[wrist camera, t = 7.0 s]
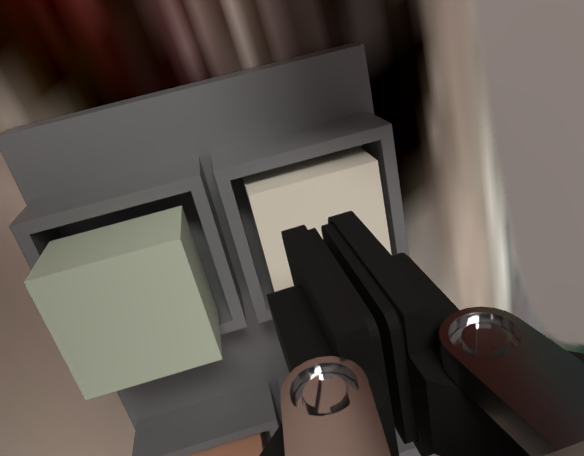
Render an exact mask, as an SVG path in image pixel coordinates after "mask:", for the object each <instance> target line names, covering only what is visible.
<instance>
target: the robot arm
mask: <svg viewBox="0 0 584 456" xmlns="http://www.w3.org/2000/svg"><path fill="white" fill-rule="evenodd" d="M321 231H322V236H323V239H322V237H321V236H320V234H319V233H318V231H317V230H316V228H312V229H309V230H308V229H307V228H306V226H305V225H301V226H297V227H294V228H291V229H287V230H284V231H281V235H282V239H283V244H284V248H285V252H286V256H287V260H288V264H289V268H290V272H291V276H292V280H293V284H294V286H292V287H289V288H286V289H282V290H279V291H276V292H273V293H270V294H266V296H267V300H268V304H269V308H270V311H271V315H272V318H273V322H274V325H275V329H276V332H277V335H278V339H279V342H280V345H281V348H282V352H283V355H284V358H285V361H286V364H287V367H288V370H289V373H290V374H289V375H288V376H287V377H286V379H285V381H284V383H283V385H282V387H281V395H280V400H281V412H282V423H281V424H280V426H279V427H278V429H277V430H276V432H275V433H274V435H273V436H272V438H271V439H270V440H269V442H268V443H267V445H266V446H265V448H264V449H263V451H262V452H261V454H260V455H259V456H399V451H398V444H397V438H396V431H395V428H396V430H397V432H398V434H399V436H400V438H401V440H402V441H403V443H404V444H408V443H411V442H413V443H414V444H415V446H416V448H417V450H418V452H419V453H420V455H421V456H430V455H432V454H437V455H440V456H584V354H582V353H577V352H571V351H567V350H565V349H564V348H562V347H561V346H559V345H558V344H556V343H555V342H553V341H552V340H551V339H549V338H548V337H546V336H545V335H543V334H542V333H540V332H539V331H537V330H536V329H534V328H533V327H531V326H530V325H529V324H527V323H526V322H524V321H523V320H521V319H520V318H518V317H517V316H515V315H513V314H511V313H509V312H507V311H503V310H500V309H496V308H490V307H473V308H466V309H463V310H459V309H458V308H457V307H456V306H455V305H454V304H453V303H452V302H451V301H450V300H449V299H448V298H447V296H446V295H445V294H444V293H443V292H442V291H441V290H440V289H439V288H438V287H437V286H436V285H435V284H434V283H433V282H432V281H431V280H430V279H429V277H428V276H427V275H426V274H425V273H424V272H423V271H422V270H421V269H420V268H419V267H418V266H417V265H416V264H415V263H414V262H413V261H412V260H411V258H410V257H409V256H408V255H406V254H405V253H398V254H395V255H391V254H390V253H389V252H388V251H387V250H386V248H385V247H384V246H383V245H382V244H381V243H380V242H379V240H378V239H377V238H376V237H375V236H374V235H373V234H372V233H371V231H370V230H369V229H368V228H367V227H366V226H365V225H364V224H363V222H362V221H361V220H360V219H359V218H358V217H357V216H356V215H355V213H354V212H353V211H348V212H344V213H341V214H338V215H334V216H331V217H328V224H326V225H322V226H321Z"/></svg>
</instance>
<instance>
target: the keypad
mask: <svg viewBox="0 0 584 456" xmlns="http://www.w3.org/2000/svg"><path fill="white" fill-rule="evenodd" d="M356 146H359V147H360V148H362V149H363V150H364V151H366V152H367V153H368V154H370V155H371V156H372V157H374V158H375V159H376V160H378V166H379V173H380V180H381V186H382V193H383V200H384V207H385V213H386V220H387V227H388V234H389V240H390V247H391V254H392V255H395V254H398V253H405V254H406V255H408V256H409V252H408V244H407V236H406V229H405V221H404V214H403V206H402V198H401V191H400V183H399V176H398V168H397V161H396V153H395V145H394V138H393V130H392V124H391V123H389V122H387V121H385V120H383V119H381V118H380V117H378V116H376V115H374V109H373V102H372V95H371V88H370V82H369V75H368V68H367V61H366V54H365V47H364V44H360V43H350V44H346V45H342V46H338V47H334V48H330V49H326V50H322V51H318V52H314V53H310V54H306V55H302V56H298V57H294V58H290V59H286V60H282V61H278V62H274V63H270V64H266V65H262V66H258V67H254V68H250V69H246V70H242V71H238V72H234V73H230V74H226V75H222V76H218V77H214V78H210V79H206V80H202V81H198V82H194V83H190V84H186V85H182V86H178V87H174V88H170V89H166V90H162V91H158V92H154V93H151V94H147V95H143V96H139V97H135V98H131V99H127V100H123V101H119V102H115V103H111V104H107V105H103V106H99V107H95V108H91V109H87V110H83V111H79V112H75V113H71V114H67V115H63V116H59V117H55V118H51V119H47V120H43V121H39V122H35V123H31V124H27V125H23V126H19V127H15V128H11V129H7V130H6V131H4V132H2V133H1V134H0V151H1V153H2V155H3V157H4V159H5V161H6V163H7V165H8V167H9V169H10V171H11V173H12V175H13V177H14V180H15V182H16V184H17V186H18V188H19V190H20V192H21V194H22V196H23V198H24V200H25V202H26V204H27V206H26V207H25V209H24V210H23V211H22V212H21V213H20V214H19V215H18V216H17V218H16V219H15V220H14V221H13V222H12V223H11V224H10V226H9V227H10V229H11V231H12V233H13V235H14V237H15V239H16V241H17V243H18V245H19V247H20V249H21V251H22V252H23V254H24V256H25V258H26V260H27V262H28V264H29V266H30V268H31V270H32V268H33V267H34V265H35V263H36V262H37V260H38V259H39V257H40V256H41V254H42V253H43V251H44V249H45V248H46V246H47V245H48V243H49V242H50V241H53V240H57V239H60V238H64V237H68V236H72V235H75V234H79V233H83V232H86V231H90V230H94V229H97V228H101V227H105V226H108V225H112V224H116V223H119V222H123V221H127V220H130V219H134V218H138V217H141V216H145V215H149V214H152V213H156V212H160V211H164V210H167V209H171V208H175V207H178V206H182V207H183V210H184V213H185V216H186V219H187V222H188V225H189V228H190V231H191V234H192V237H193V240H194V243H195V246H196V249H197V252H198V255H199V258H200V261H201V263H202V266H203V269H204V272H205V275H206V278H207V281H208V284H209V287H210V290H211V293H212V296H213V299H214V302H215V305H216V308H217V311H218V316H219V327H220V337H221V348H222V360H218V361H215V362H212V363H208V364H205V365H202V366H198V367H195V368H192V369H188V370H185V371H182V372H178V373H175V374H172V375H168V376H165V377H162V378H158V379H155V380H152V381H148V382H145V383H142V384H138V385H135V386H132V387H128V388H125V389H122V390H118V391H117V392H118V395H119V397H120V399H121V401H122V403H123V405H124V407H125V409H126V411H127V413H128V415H129V417H130V419H131V421H132V424H133V426H134V428H135V430H136V432H135V439H134V447H133V454H132V456H189V455H192V454H195V453H198V452H201V451H204V450H208V449H211V448H214V447H217V446H220V445H223V444H227V443H230V442H233V441H236V440H239V439H243V438H246V437H249V436H252V435H255V434H258V433H262V432H264V434H265V437H266V440H267V443H268V442H269V440H270V439H271V438H272V436H273V435H274V433H275V432H276V430H277V429H278V427H279V426H280V424H281V423H282V412H281V400H280V395H281V387H282V385H283V383H284V381H285V379H286V377H287V376H288V375H289V374H290V373H289V370H288V367H287V364H286V361H285V358H284V355H283V352H282V348H281V345H280V342H279V339H278V335H277V332H276V329H275V325H274V322H273V318H272V315H271V311H270V308H269V304H268V300H267V296H266V294H270V293H273V292H274V290H273V287H272V283H271V280H270V277H269V273H268V270H267V266H266V263H265V259H264V255H263V252H262V248H261V244H260V241H259V237H258V234H257V230H256V226H255V223H254V219H253V215H252V212H251V208H250V204H249V201H248V197H247V194H246V190H245V186H244V183H243V179H242V177H244V176H248V175H252V174H256V173H259V172H263V171H267V170H270V169H274V168H278V167H282V166H285V165H289V164H293V163H296V162H300V161H304V160H308V159H311V158H315V157H319V156H322V155H326V154H330V153H333V152H337V151H341V150H345V149H348V148H352V147H356Z"/></svg>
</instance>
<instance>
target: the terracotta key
mask: <svg viewBox="0 0 584 456" xmlns="http://www.w3.org/2000/svg"><path fill="white" fill-rule="evenodd" d="M266 445H267V440H266V437H265V434H264V432H262V433H258V434H255V435H252V436H249V437H246V438H243V439H239V440H236V441H233V442H230V443H227V444H223V445H220V446H217V447H214V448H211V449H208V450H204V451H201V452H198V453H195V454H192V455H189V456H259V455H260V454H261V452H262V451H263V449H264V448H265V446H266Z"/></svg>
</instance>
